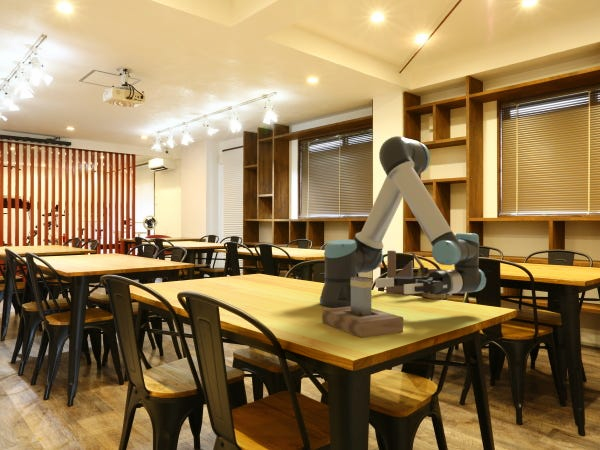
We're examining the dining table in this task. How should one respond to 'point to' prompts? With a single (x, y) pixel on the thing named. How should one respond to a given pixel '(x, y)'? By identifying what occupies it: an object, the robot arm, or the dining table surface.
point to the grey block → (361, 296)
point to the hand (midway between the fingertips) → (389, 286)
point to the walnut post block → (362, 322)
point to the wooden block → (391, 272)
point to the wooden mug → (425, 270)
